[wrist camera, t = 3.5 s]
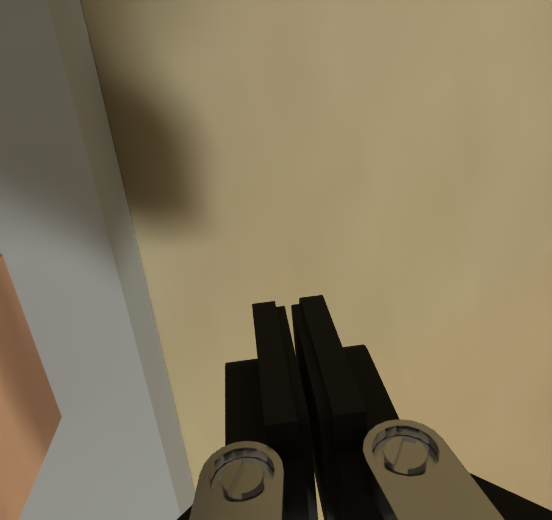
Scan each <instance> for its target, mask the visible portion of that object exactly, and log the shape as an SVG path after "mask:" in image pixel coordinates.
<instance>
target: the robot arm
mask: <svg viewBox="0 0 552 520" xmlns="http://www.w3.org/2000/svg"><path fill="white" fill-rule="evenodd" d="M252 308H253V318H254V327H255V337H256V347H257V356H258V359H251V360H244V361H236V362H229V363H226V364H225V446H224V447H222V448H220V449H219V450H218V451H216V452H215V453H213V454H212V455H211V456H210V457H209V459H208V460H207V461H206V462H205V463H204V465H203V468H202V470H201V472H200V475H199V480H198V484H197V488H196V492H195V497H194V501H193V504H192V505H191V506H190V507H189V508H188V509H187V510H186V511H185V512H184V513H183V514H182V515H181V516H180V517H179V518H178V519H177V520H318V513H317V501H316V489H315V478H316V482H317V487H318V492H319V497H320V502H321V507H322V512H323V516H324V520H552V511H550V510H548V509H546V508H544V507H542V506H540V505H538V504H535V503H533V502H531V501H529V500H527V499H525V498H522V497H520V496H518V495H516V494H514V493H512V492H510V491H507V490H505V489H503V488H501V487H499V486H497V485H494V484H492V483H490V482H488V481H486V480H484V479H481V478H479V477H477V476H475V475H473V474H471V473H469V472H468V471H467V470H466V468H465V467H464V466H463V465H462V463H461V462H460V461H459V459H458V458H457V457H456V455H455V454H454V453H453V451H452V450H451V449H450V447H449V446H448V445H447V444H446V442H445V441H444V440H443V438H442V437H441V436H439V435H438V434H437V433H436V432H435V431H434V430H433V429H431V428H429V427H427V426H426V425H424V424H421V423H418V422H415V421H411V420H400V419H399V417H398V415H397V413H396V411H395V409H394V406H393V404H392V402H391V400H390V398H389V396H388V393H387V391H386V389H385V387H384V385H383V382H382V380H381V378H380V376H379V374H378V371H377V369H376V367H375V365H374V363H373V360H372V358H371V356H370V354H369V352H368V350H367V348H366V346H365V345H356V346H349V347H342V345H341V342H340V339H339V337H338V334H337V331H336V329H335V326H334V324H333V321H332V318H331V316H330V313H329V310H328V308H327V305H326V302H325V300H324V297H323V295H318V296H310V297H303V298H300V299H299V304H295V305H292V306H291V309H292V320H293V331H294V342H295V351H294V346H293V342H292V337H291V333H290V328H289V324H288V319H287V315H286V310H285V306H280V307H276V305H275V301H271V302H264V303H256V304H252ZM295 353H296V355H295ZM314 473H315V477H314Z"/></svg>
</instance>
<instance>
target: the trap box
mask: <svg viewBox="0 0 552 520" xmlns="http://www.w3.org/2000/svg"><path fill="white" fill-rule="evenodd" d="M0 255H3V258H4V260H5V263H6V266H7V269H8V271H9V274H10V277H11V280H12V282H13V285H14V288H15V290H16V293H17V296H18V299H19V301H20V304H21V307H22V310H23V312H24V315H25V318H26V320H27V323H28V326H29V329H30V331H31V334H32V337H33V340H34V342H35V345H36V348H37V351H38V353H39V356H40V359H41V361H42V364H43V367H44V370H45V372H46V375H47V378H48V381H49V383H50V386H51V389H52V392H53V394H54V397H55V400H56V402H57V405H58V408H59V411H60V413H61V416H62V418H61V420H60V423H59V425H58V428H57V430H56V432H55V435H54V437H53V440H52V442H51V444H50V447H49V449H48V451H47V454H46V456H45V459H44V461H43V463H42V466H41V468H40V471H39V473H38V475H37V478H36V480H35V482H34V485H33V487H32V490H31V492H30V494H29V497H28V499H27V502H26V504H25V506H24V509H23V511H22V514H21V516H20V518H19V520H177V519H178V518H179V517H180V516H181V515H182V514H183V513H184V512H185V511H186V510H187V509H188V508H189V507H190V506H191V505H192V504H193V501H194V497H195V491H194V487H193V482H192V478H191V474H190V469H189V465H188V461H187V457H186V452H185V448H184V444H183V439H182V435H181V431H180V427H179V422H178V418H177V414H176V409H175V405H174V401H173V396H172V392H171V388H170V384H169V379H168V375H167V371H166V366H165V362H164V358H163V354H162V349H161V345H160V341H159V336H158V332H157V328H156V324H155V319H154V315H153V311H152V306H151V302H150V298H149V294H148V289H147V285H146V281H145V276H144V272H143V268H142V264H141V259H140V255H139V251H138V246H137V242H136V238H135V234H134V229H133V225H132V221H131V216H130V212H129V208H128V204H127V199H126V195H125V191H124V186H123V182H122V178H121V173H120V169H119V165H118V161H117V156H116V152H115V148H114V143H113V139H112V135H111V131H110V126H109V122H108V118H107V113H106V109H105V105H104V101H103V96H102V92H101V88H100V83H99V79H98V75H97V71H96V66H95V62H94V58H93V53H92V49H91V45H90V41H89V36H88V32H87V28H86V23H85V19H84V15H83V11H82V6H81V2H80V0H0Z"/></svg>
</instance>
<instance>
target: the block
mask: <svg viewBox="0 0 552 520" xmlns="http://www.w3.org/2000/svg"><path fill="white" fill-rule="evenodd" d="M61 418H62V416H61V413H60V411H59V408H58V405H57V402H56V400H55V397H54V394H53V392H52V389H51V386H50V383H49V381H48V378H47V375H46V372H45V370H44V367H43V364H42V361H41V359H40V356H39V353H38V351H37V348H36V345H35V342H34V340H33V337H32V334H31V331H30V329H29V326H28V323H27V320H26V318H25V315H24V312H23V310H22V307H21V304H20V301H19V299H18V296H17V293H16V290H15V288H14V285H13V282H12V280H11V277H10V274H9V271H8V269H7V266H6V263H5V260H4V258H3V255H0V520H19V518H20V516H21V514H22V511H23V509H24V506H25V504H26V502H27V499H28V497H29V494H30V492H31V490H32V487H33V485H34V482H35V480H36V478H37V475H38V473H39V471H40V468H41V466H42V463H43V461H44V459H45V456H46V454H47V451H48V449H49V447H50V444H51V442H52V440H53V437H54V435H55V432H56V430H57V428H58V425H59V423H60V420H61Z"/></svg>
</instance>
